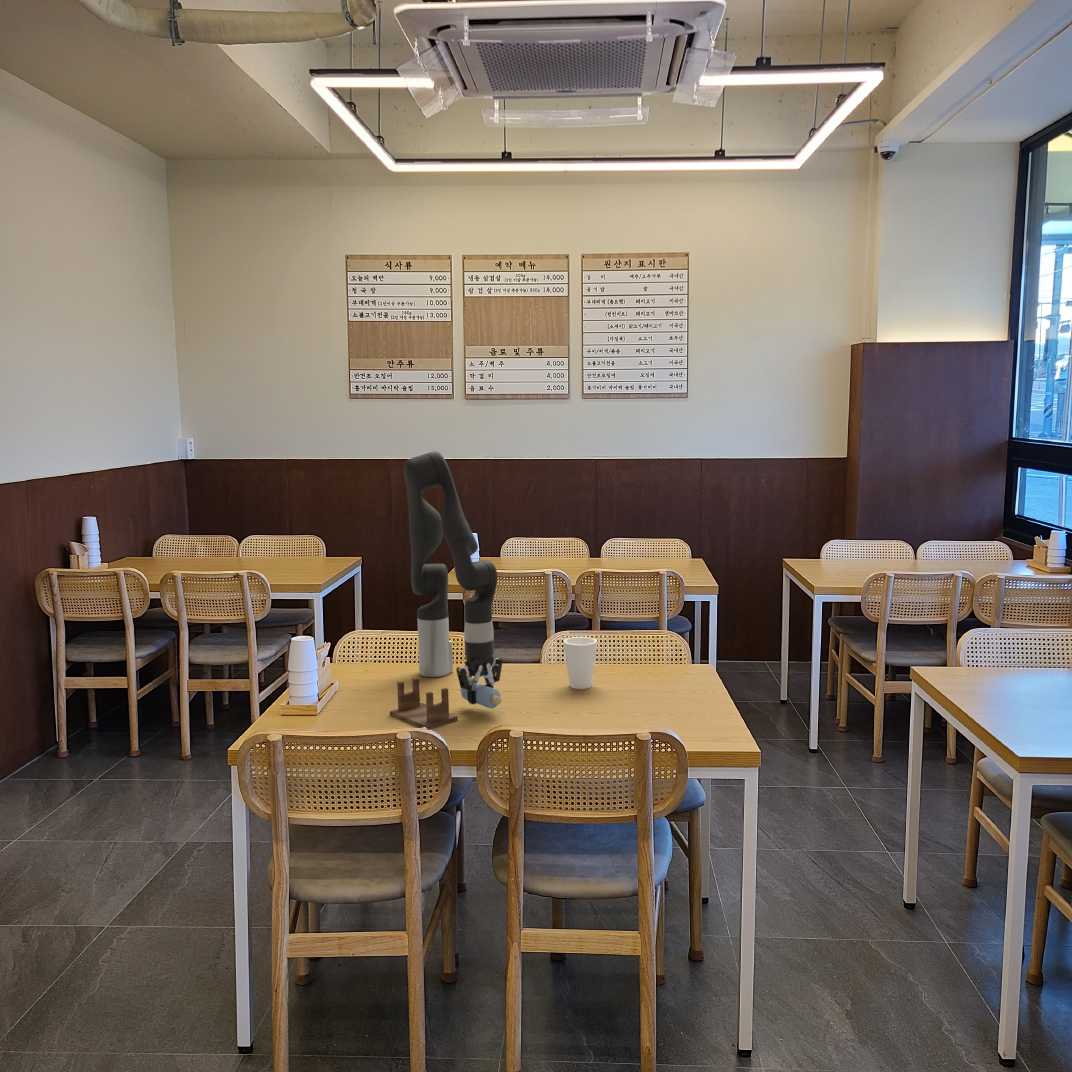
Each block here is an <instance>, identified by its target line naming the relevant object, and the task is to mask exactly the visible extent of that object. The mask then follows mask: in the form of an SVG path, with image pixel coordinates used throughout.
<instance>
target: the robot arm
mask: <svg viewBox="0 0 1072 1072" xmlns="http://www.w3.org/2000/svg"><path fill="white" fill-rule="evenodd" d="M403 476H404V481H405V488H406V489H405V490H406V496H407V504H408V527H409V528H408V530H409V540H410V553H411V555H410V556H411V559H410V560H411V561H410V562H411V563H410V565H411V566H410V567H411V570H410V583H411V585H410V586H411V589H412V591H413V593H414V594H415V595H417V596H436V597H435V599H433V600H432V601H431V602H429V603H426V604H424V605H421V606H420V607H418V608H417V612H416V614H417V616H416V617H417V620H416V621H417V640H418V643H417V645H418V670H419V671H418V672H419V676H422V677H426V678H441V677H445V676H448V675H450V673H453V671H454V663H453V659H454V658H453V641H452V640H451V639H450V630H449V629H450V627H449V626H450V625H449V603H448V601H449V600H448V599H449V598H448V597H449V595H448V594H449V590H448V589H449V571H448V567H447V566H446V564H444V563H425V562H426V561H427V560H428V558H429V557H430V556H431V555H432V554H433V553H434V552H435V551H436V550H437V548H438V547H439V546H440V544H441V542H442V540H443V537H444V539H445V542H446V544H447V547H449V548H448V549H449V550H450V552H451V555H452V561H453V566H454V573H455V578H456V580H457V583H458V584H459V586H460V587H461V588H462V589H464V591H474V593H473V595H472V596H471V597H469V598H467V599H466V600H465V602H464V629H463V630H464V631H463V633H464V634H463V635H464V637H463V638H464V656H465V658H466V660H465V664H464V665H463V666H461V667H460V666H457V667H456V674H457V678H458V683H459V687H460V689H461V688H462V689H466V690H467V699H468V700H467V702H468V703H469V704H470V705H476V704H477V703H476V690H475V688H476V684H477V683H479V681H480V678H481V677H482V678H483V679H484V683H485V684H484V686H487V687H490V688H493V689H495V687H494V685H495V683H496V682H500V681H501V680H500V679H501V673H502V667H503V659H502V658H498V657H493V656H494V654H495V645H494V640H495V639H494V625H493V602H494V597H495V593H496V589H497V585H498V571H497V568H496V565H495V564H494V563H493V562H492V561H490V560H488V559H487V560H486V559H482V560H477V561H473V560H472V557H471V556H472V555H474V554H475V553H476V552H477V551H478V549H479V548H478V547H479V545H478V543H477V540H476V538H475V536H474V534H473V532H472V531H473V530H472V529H471V527H470V525H469V523H468V521H467V519H466V516H465V514H464V511H463V507H462V505H461V501H460V498H459V494H458V492H457V489H456V486H455V482H454V479H453V477H452V474H451V471H450V467H449V465H448V462H447V460H446V459H445V457H444V455H442V453H441V452H440V451H436V450H435V451H431V452H430V451H429V452H426V453H424V454H420V455H417V456H413V457H412V458H409V459H407V460H406V461H405V462H404V465H403ZM438 487H441V491H442V493H443V498H444V499H443V509H442V510H443V511H442V516H441V514H440V513H439V512H438V510H437V509H435V507H433V505H431V504H430V503H428V501H427V500H426V499H424V497H423V493H424V492H425V491H427V490H431V489H435V488H438ZM471 683H472V684H471Z"/></svg>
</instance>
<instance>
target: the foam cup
mask: <svg viewBox="0 0 1072 1072" xmlns="http://www.w3.org/2000/svg"><path fill="white" fill-rule="evenodd" d="M563 650H564V656H565V657H564V658H565V663H566V670H567V676H568V684H569V686H570V688H572V689H578V690H585V689H590V688H591V687H592V686H593V681H594V673H595V662H596V657H597V650H598V640H597V639H596V638H593V637H587V636H575V637H568V638H565V639H564V640H563Z"/></svg>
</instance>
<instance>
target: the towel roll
mask: <svg viewBox="0 0 1072 1072" xmlns="http://www.w3.org/2000/svg"><path fill="white" fill-rule="evenodd" d="M471 684H472V683H471ZM493 688H494V687H493ZM493 688H490V687H487V686H485V684H481V683H479V682H477V684H476V688H475V690H476V704H478V705H480V706H483V707H485V708H488V709H495V708H496V707H497V706H498V705H500V704H501V703H502V697H501V693H500V691H499V690H498V689H496V688H494V689H493ZM460 692H461V696H462V698H463V699H464V700H466V701H468V699H467V690H466V689H462V688H461V687H460Z"/></svg>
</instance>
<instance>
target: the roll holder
mask: <svg viewBox="0 0 1072 1072" xmlns="http://www.w3.org/2000/svg"><path fill="white" fill-rule="evenodd" d="M411 680H412V691H410V692H406V693H405V682H404V681H397V682H396V683H397V685H396V687H397V706H398V707H397V709H392V710H390V711H389V716H392V717H394V718H396V719H399V720H401V721H403V722H406V723H409V724H411V725H413V724H414V725H413V726H416V727H418V726H419V727H418V728H420V727H426V728H430V729H433V728H436V727H441V726H443V725H447V724H450V723H453V722H456V721H459V716H458V715H456V714H452V713H450V708H449V707H450V706H449V705H450V703H449V702H450V701H449V688H448V687H443V688H441V690H440V691H441V692H440V693H441V695H440V696H441V697H440V698H441V702H437V703H434V693H433V692H432V691H428V692H425V697H426V698H425V701H426V703H424V702H421V700H420V699H421V698H420V697H421V696H420V695H421V694H420V692H421V691H420V678H418V677H413V678H412V679H411Z"/></svg>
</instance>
